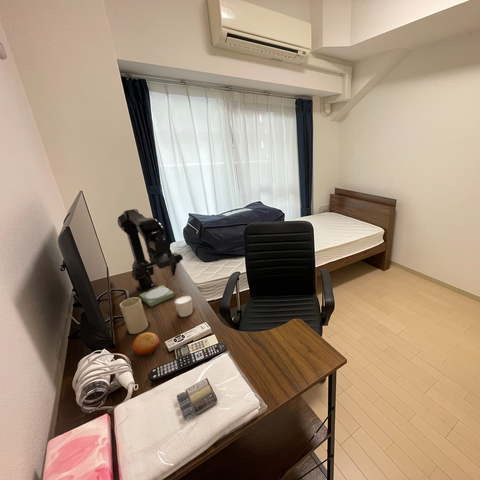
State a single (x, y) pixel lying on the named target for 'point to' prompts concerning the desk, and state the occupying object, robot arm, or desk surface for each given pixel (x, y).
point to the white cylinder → (184, 306)
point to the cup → (134, 315)
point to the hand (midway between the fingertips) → (163, 279)
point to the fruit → (145, 343)
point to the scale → (156, 295)
